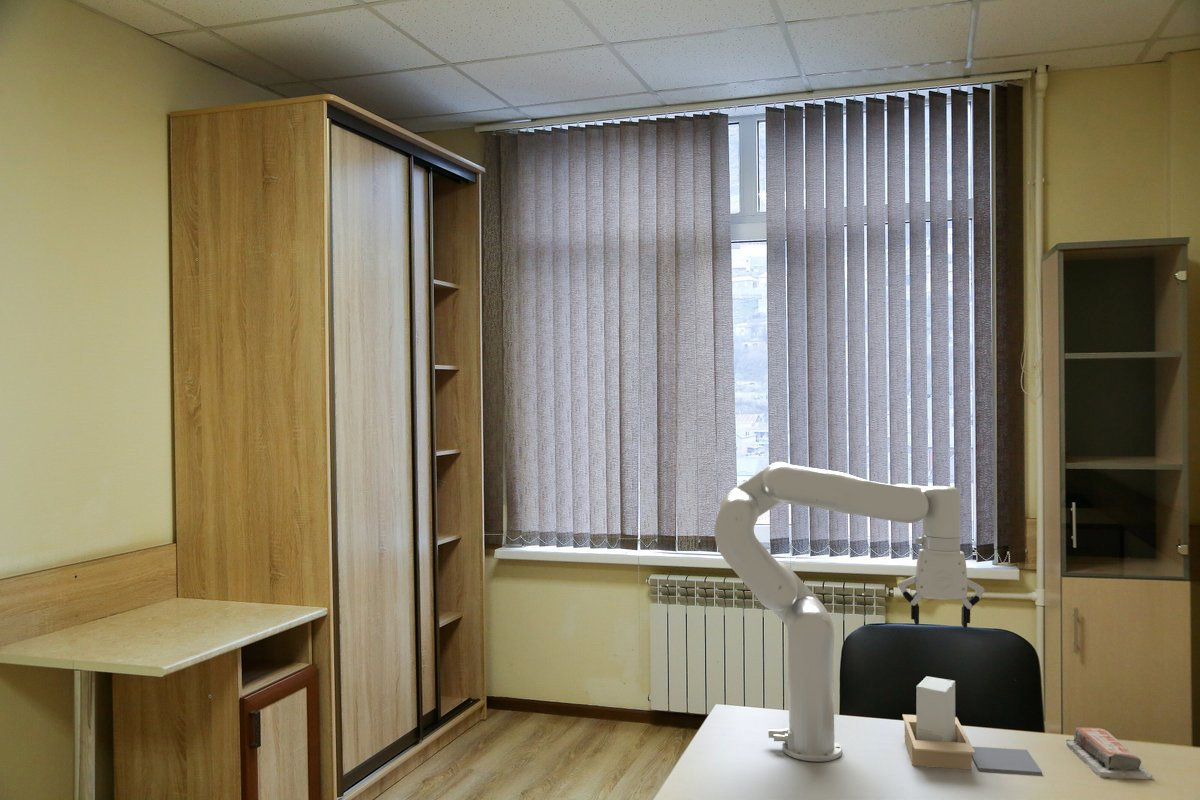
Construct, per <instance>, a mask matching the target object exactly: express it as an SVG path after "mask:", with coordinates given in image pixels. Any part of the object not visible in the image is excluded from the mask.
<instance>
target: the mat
mask: <svg viewBox="0 0 1200 800" xmlns="http://www.w3.org/2000/svg"><path fill="white" fill-rule="evenodd" d="M972 747H973V749H974V751H975V754H971V755H972V761H973V763H974V764H975V767H976V769H977V770H978V771H979V772H987V773H988V772H989V773H991V772H992V773H1006V774H1020V775H1022V774H1023V775H1034V776H1035V775H1038V776H1042V775H1043V771H1042V769H1041V768H1040V767H1039V765H1038V764H1037V763H1036V761H1035V759H1034V758H1033V757H1032V755H1031V754H1030V752H1029V750H1028V749H1024V748H1023V749H1020V748H1006V747H1005V748H1003V747H1002V748H1001V747H986V746H972Z"/></svg>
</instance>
